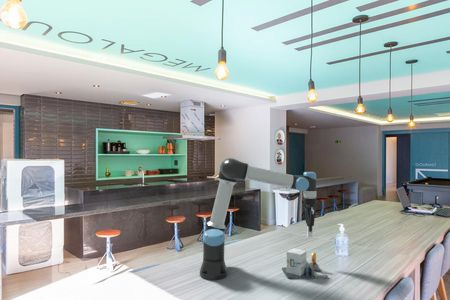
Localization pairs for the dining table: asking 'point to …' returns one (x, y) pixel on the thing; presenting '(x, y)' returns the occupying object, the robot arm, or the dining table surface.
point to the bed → (307, 275)
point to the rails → (321, 275)
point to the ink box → (296, 261)
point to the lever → (314, 262)
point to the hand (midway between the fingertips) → (309, 236)
